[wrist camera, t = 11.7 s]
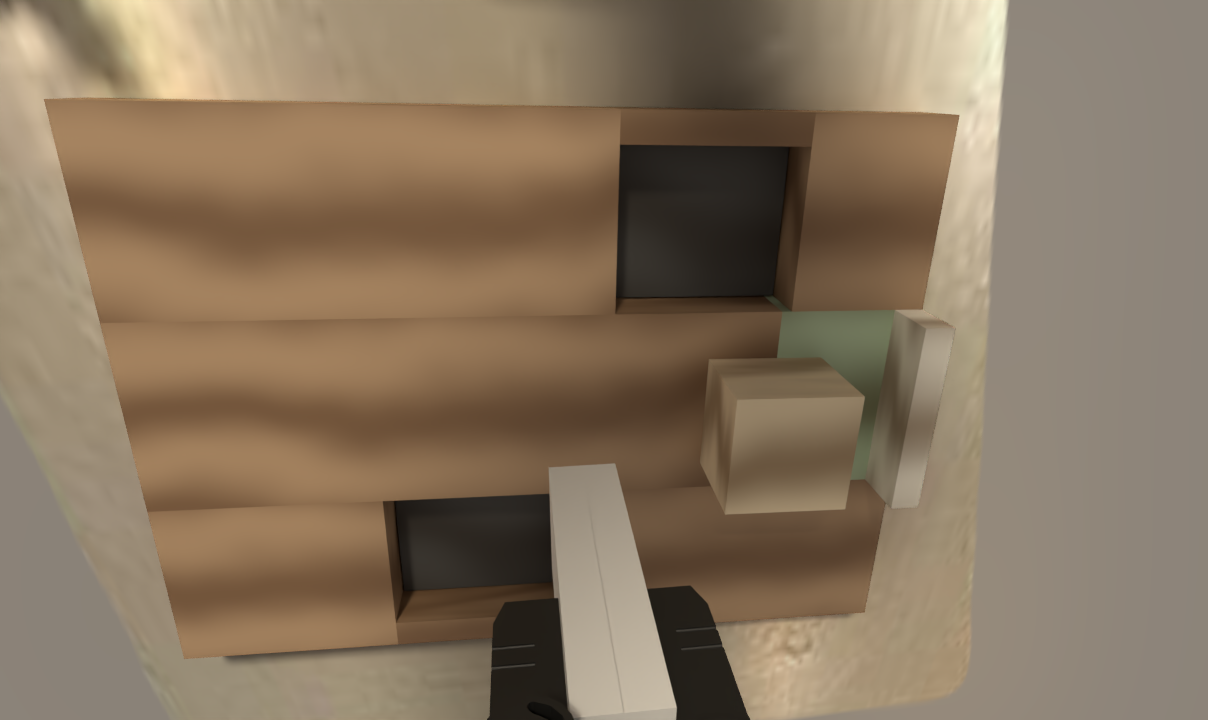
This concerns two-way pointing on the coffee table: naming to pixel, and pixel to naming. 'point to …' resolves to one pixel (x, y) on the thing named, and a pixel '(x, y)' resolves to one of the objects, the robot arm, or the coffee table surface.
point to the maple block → (779, 434)
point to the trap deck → (491, 344)
